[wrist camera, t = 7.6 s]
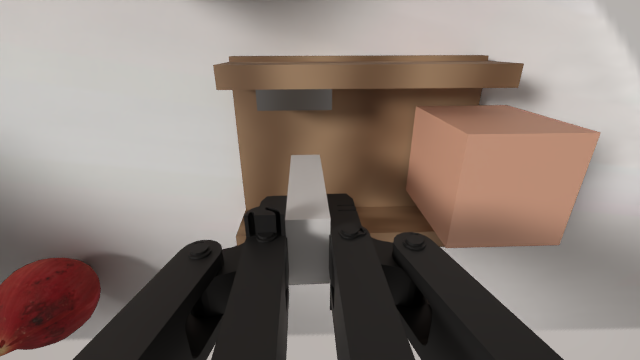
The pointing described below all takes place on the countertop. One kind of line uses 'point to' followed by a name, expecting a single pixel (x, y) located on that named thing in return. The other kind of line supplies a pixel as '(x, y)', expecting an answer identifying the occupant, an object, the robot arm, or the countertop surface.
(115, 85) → the countertop surface
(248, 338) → the robot arm
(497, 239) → the block
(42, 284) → the onion
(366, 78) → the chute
